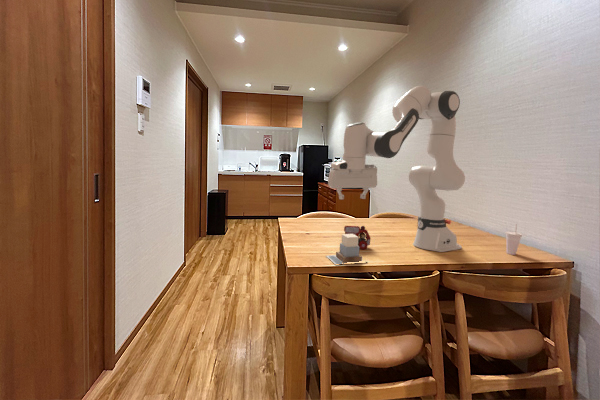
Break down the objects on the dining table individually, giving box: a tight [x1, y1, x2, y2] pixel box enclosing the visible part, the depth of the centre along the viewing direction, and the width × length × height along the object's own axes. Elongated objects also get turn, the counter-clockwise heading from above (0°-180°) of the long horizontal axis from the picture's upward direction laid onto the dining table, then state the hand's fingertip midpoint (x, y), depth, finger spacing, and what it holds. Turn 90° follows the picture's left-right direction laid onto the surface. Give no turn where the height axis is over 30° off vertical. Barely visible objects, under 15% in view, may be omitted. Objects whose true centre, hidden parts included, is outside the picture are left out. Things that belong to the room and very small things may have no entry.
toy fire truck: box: [343, 225, 371, 251], centre depth 149 cm, size 7×12×10 cm, turn 90°
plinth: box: [335, 251, 363, 263], centre depth 133 cm, size 8×8×2 cm
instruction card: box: [325, 254, 344, 265], centre depth 133 cm, size 14×11×1 cm
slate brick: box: [339, 242, 360, 257], centre depth 132 cm, size 6×6×4 cm
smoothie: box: [505, 224, 523, 256], centre depth 147 cm, size 6×6×14 cm
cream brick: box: [341, 233, 358, 247], centre depth 132 cm, size 5×5×4 cm
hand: (352, 198), depth 129 cm, fingers open, 8 cm apart
